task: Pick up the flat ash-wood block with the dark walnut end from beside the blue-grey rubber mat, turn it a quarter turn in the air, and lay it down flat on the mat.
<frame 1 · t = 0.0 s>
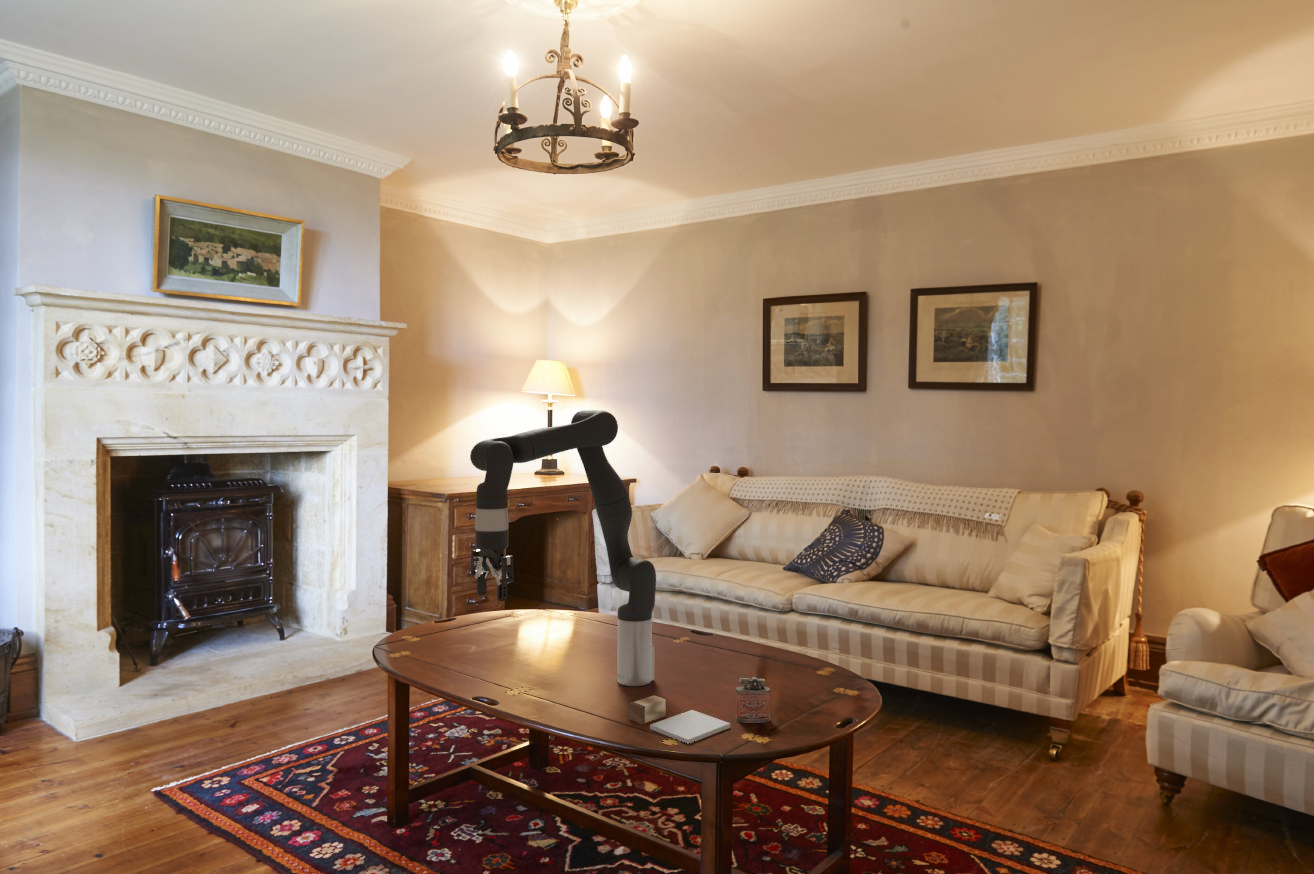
hand: (491, 597, 189), 29 cm above the table, tool pointing down, fingers open, 8 cm apart
block: (647, 717, 194), on the table
mat: (690, 728, 188), on the table
lighter: (752, 720, 193), on the table
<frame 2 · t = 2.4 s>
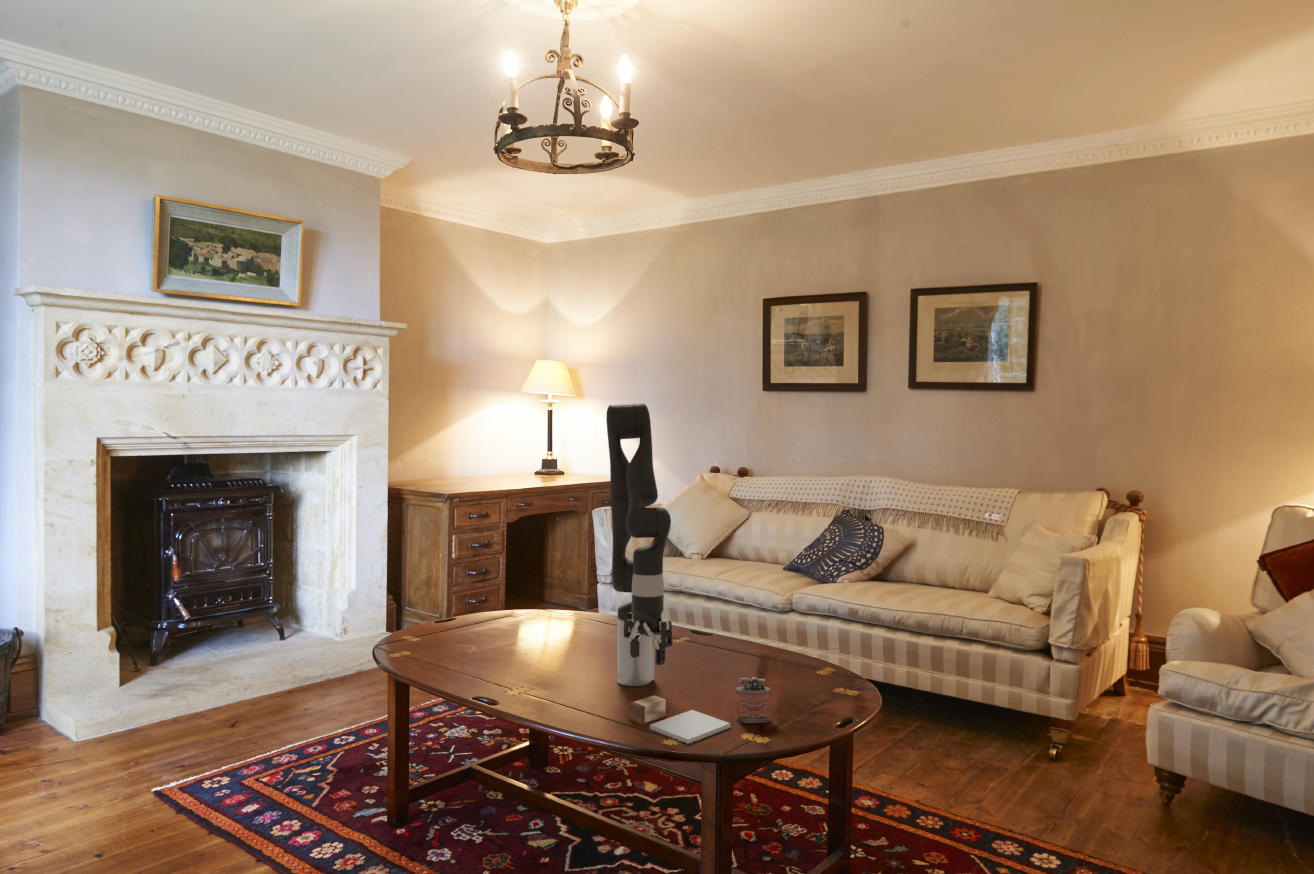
hand: (647, 660, 194), 14 cm above the table, tool pointing down, fingers open, 8 cm apart
nothing on the table moved.
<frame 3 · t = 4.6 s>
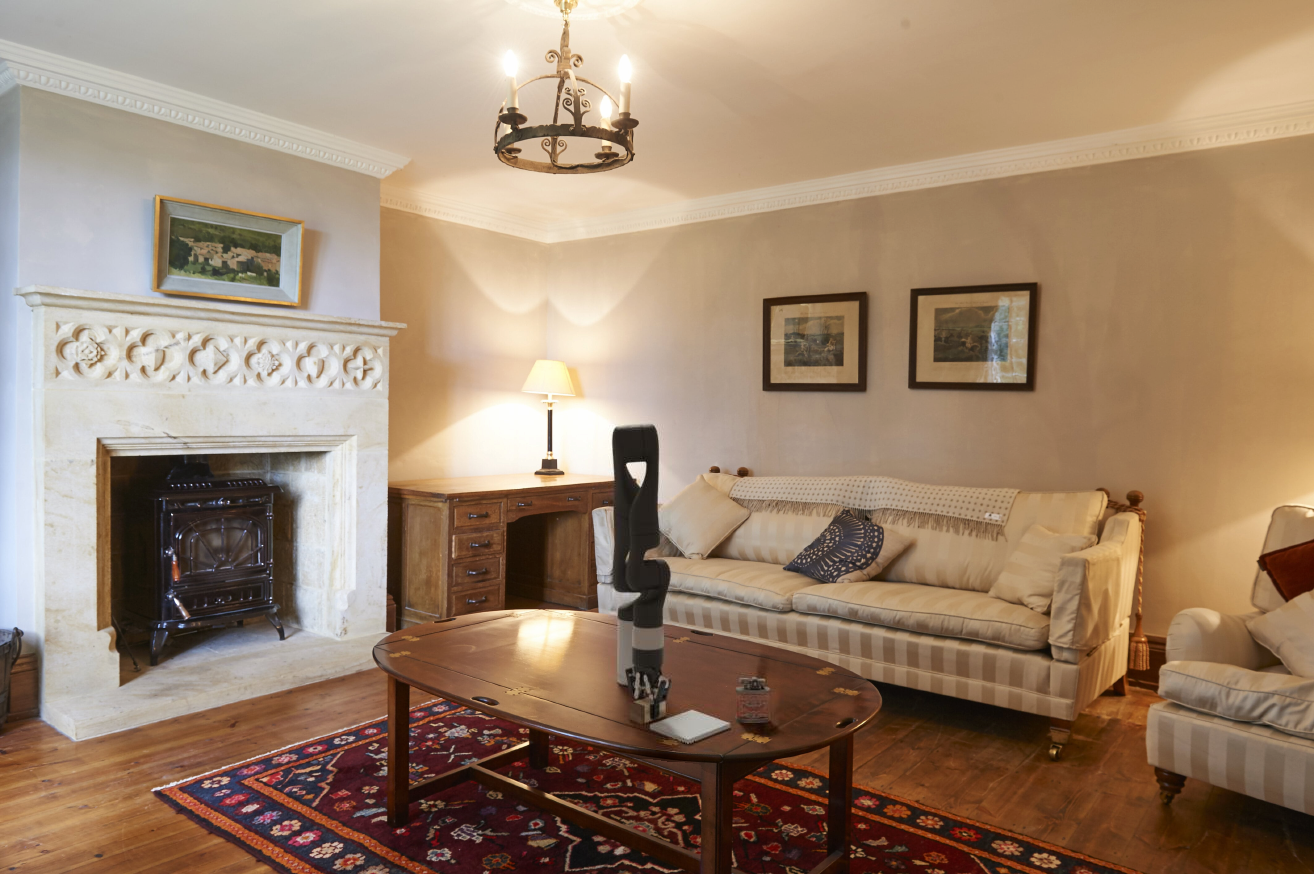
hand: (647, 715, 194), 0 cm above the table, tool pointing down, fingers closed on block, 4 cm apart
block: (647, 717, 194), on the table, touching gripper
everything else where it was.
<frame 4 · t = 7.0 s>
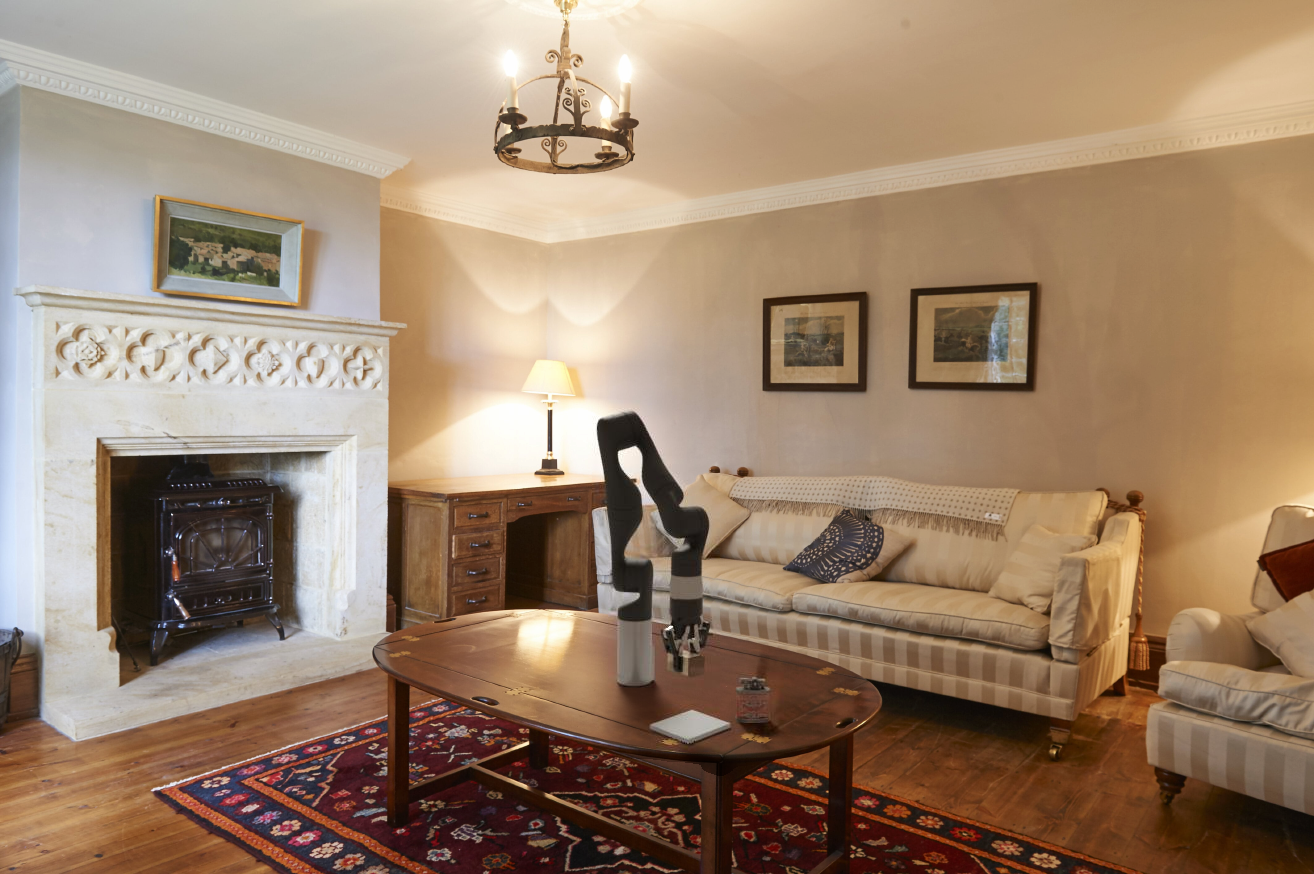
hand: (685, 669, 187), 14 cm above the table, tool pointing down, fingers closed on block, 4 cm apart
block: (685, 671, 187), point 13 cm above the table, touching gripper
everything else where it was.
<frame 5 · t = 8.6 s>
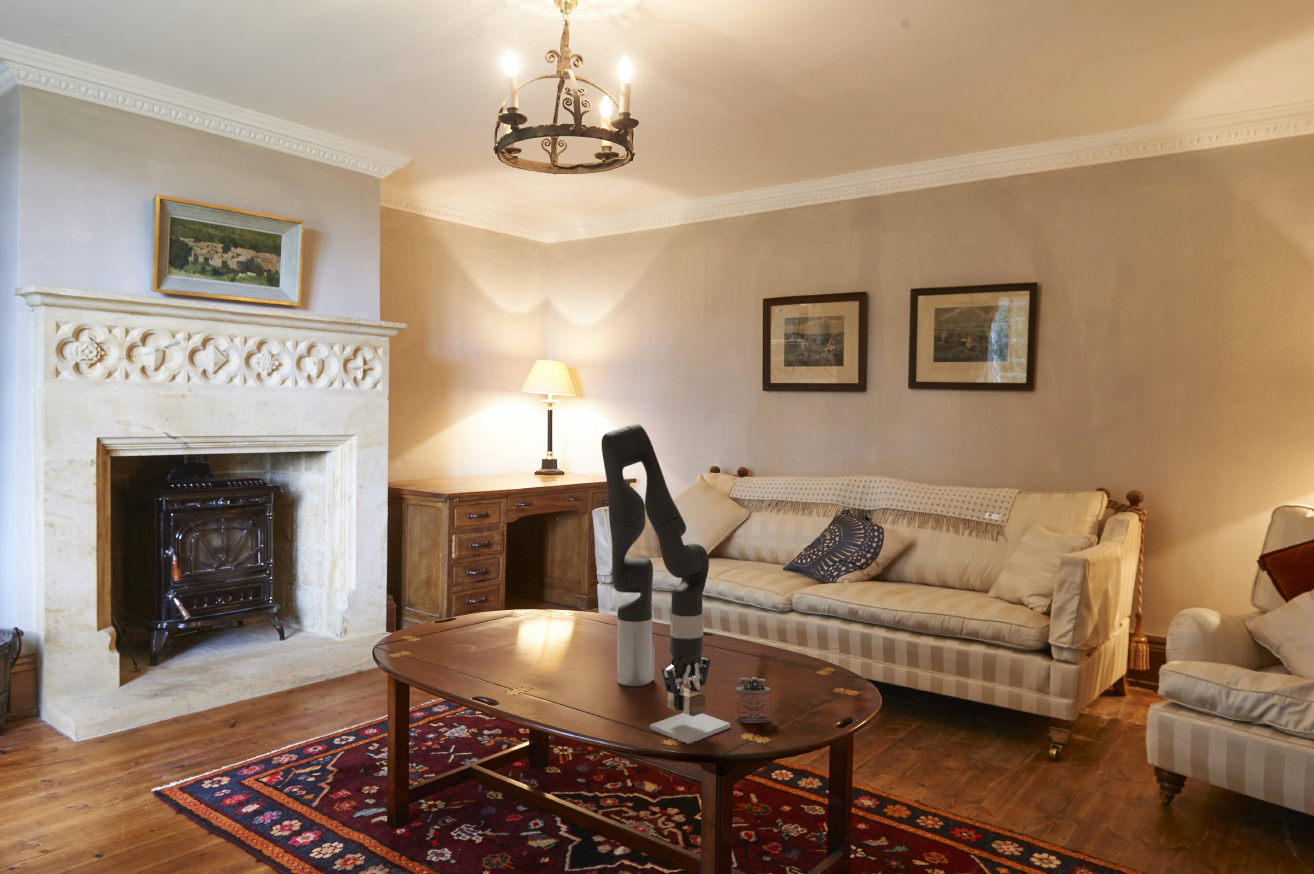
hand: (686, 707, 187), 5 cm above the table, tool pointing down, fingers closed on block, 4 cm apart
block: (686, 709, 187), point 5 cm above the table, touching gripper
everything else where it was.
when the fingers open (3 cm above the table, at t = 9.8 s): block drops 1 cm, resting on mat.
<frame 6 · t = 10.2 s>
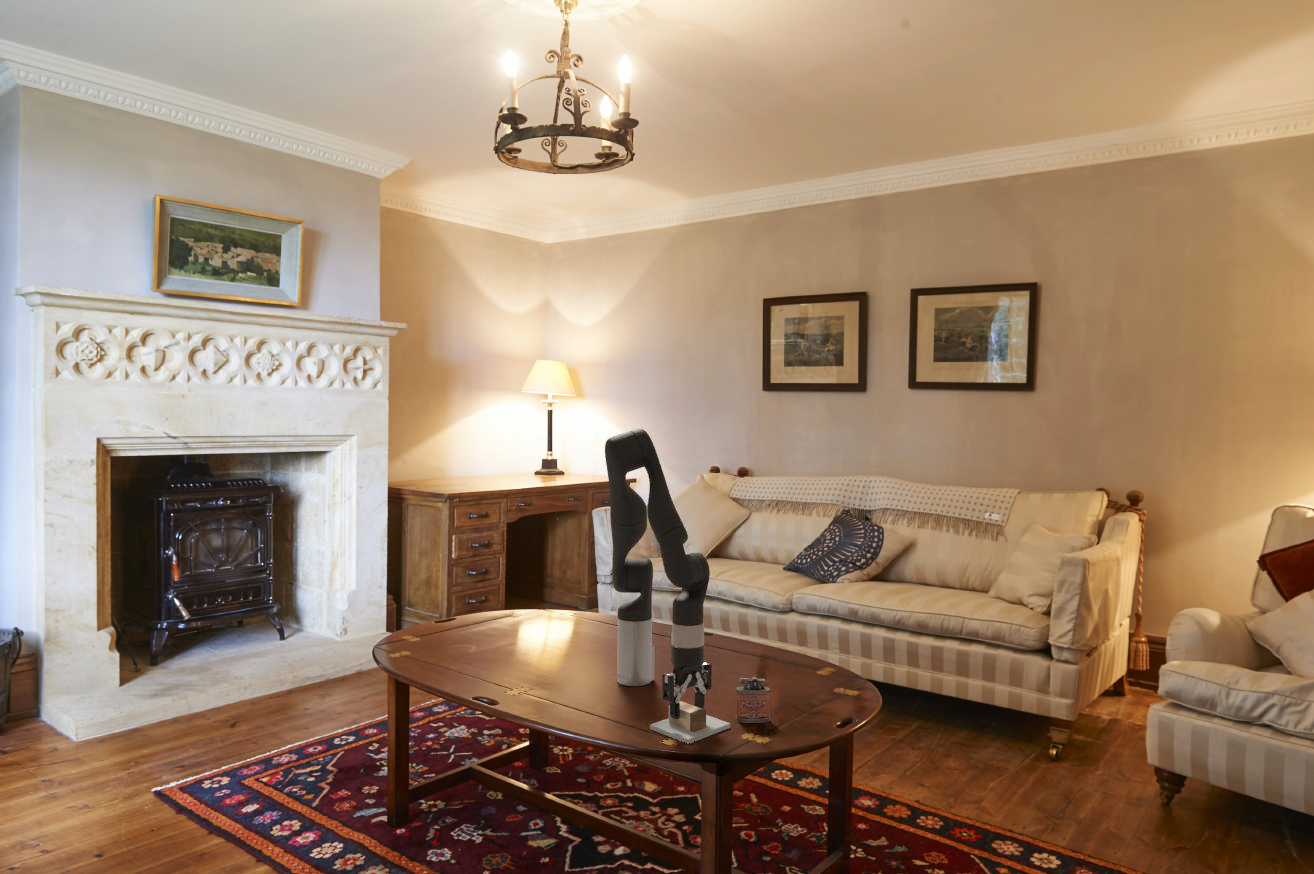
hand: (687, 713, 187), 4 cm above the table, tool pointing down, fingers open, 7 cm apart
block: (687, 724, 187), point 1 cm above the table, touching mat
everything else where it was.
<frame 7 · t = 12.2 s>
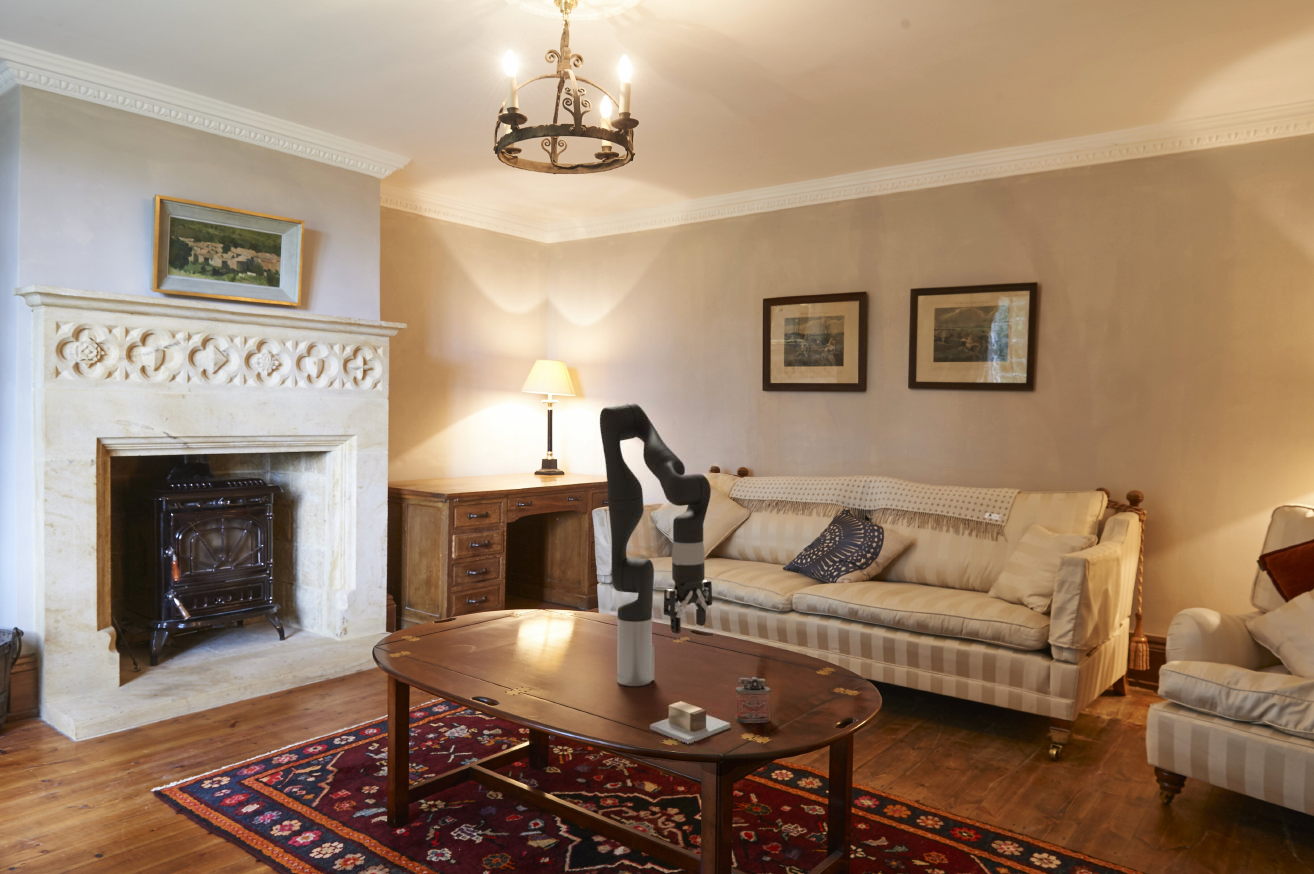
hand: (688, 628, 191), 22 cm above the table, tool pointing down, fingers open, 8 cm apart
nothing on the table moved.
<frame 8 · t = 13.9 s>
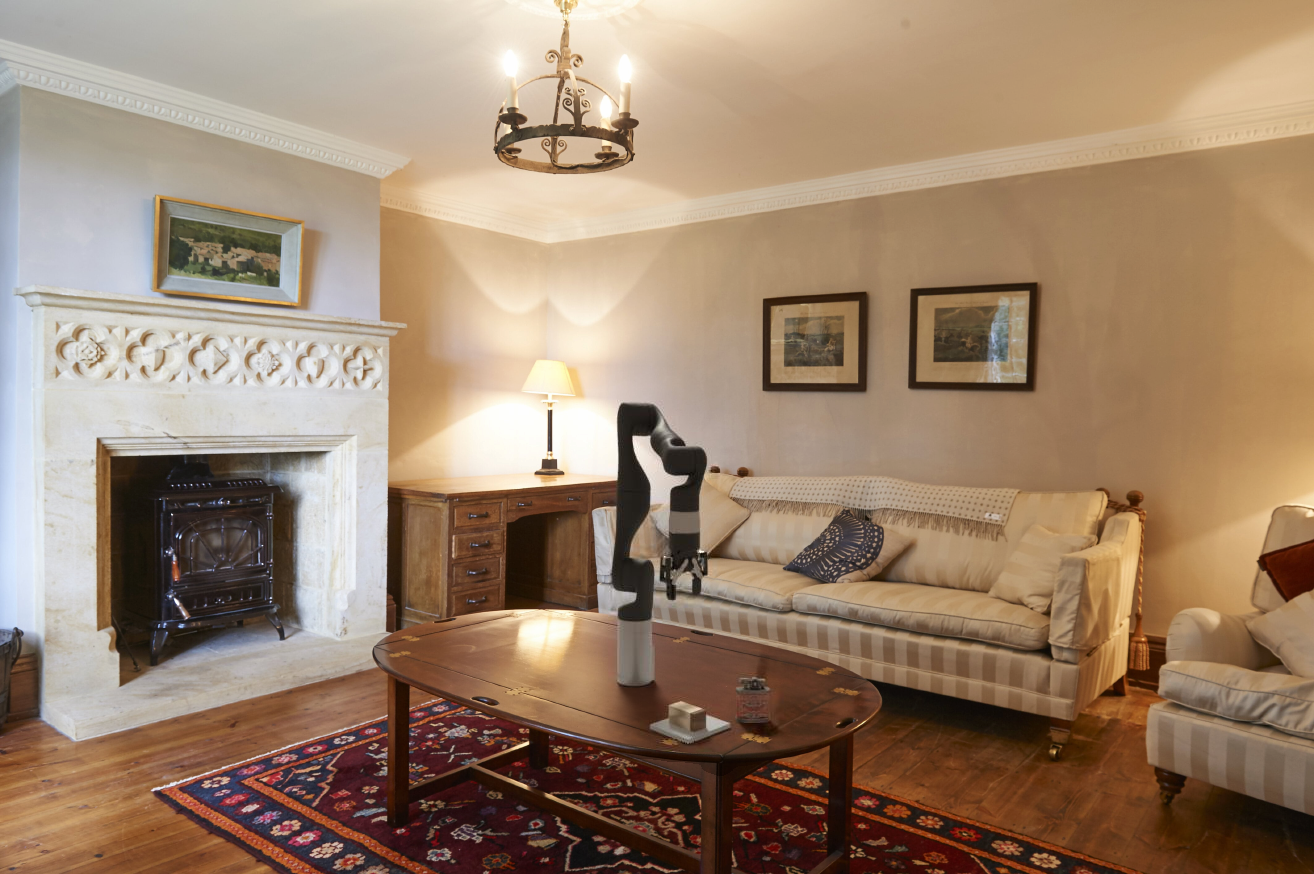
hand: (684, 597, 196), 28 cm above the table, tool pointing down, fingers open, 8 cm apart
nothing on the table moved.
at the end: block inside the target area (0.5 cm from its centre), point 1.0 cm above the table; block tilted 0°; the gripper is holding nothing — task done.
